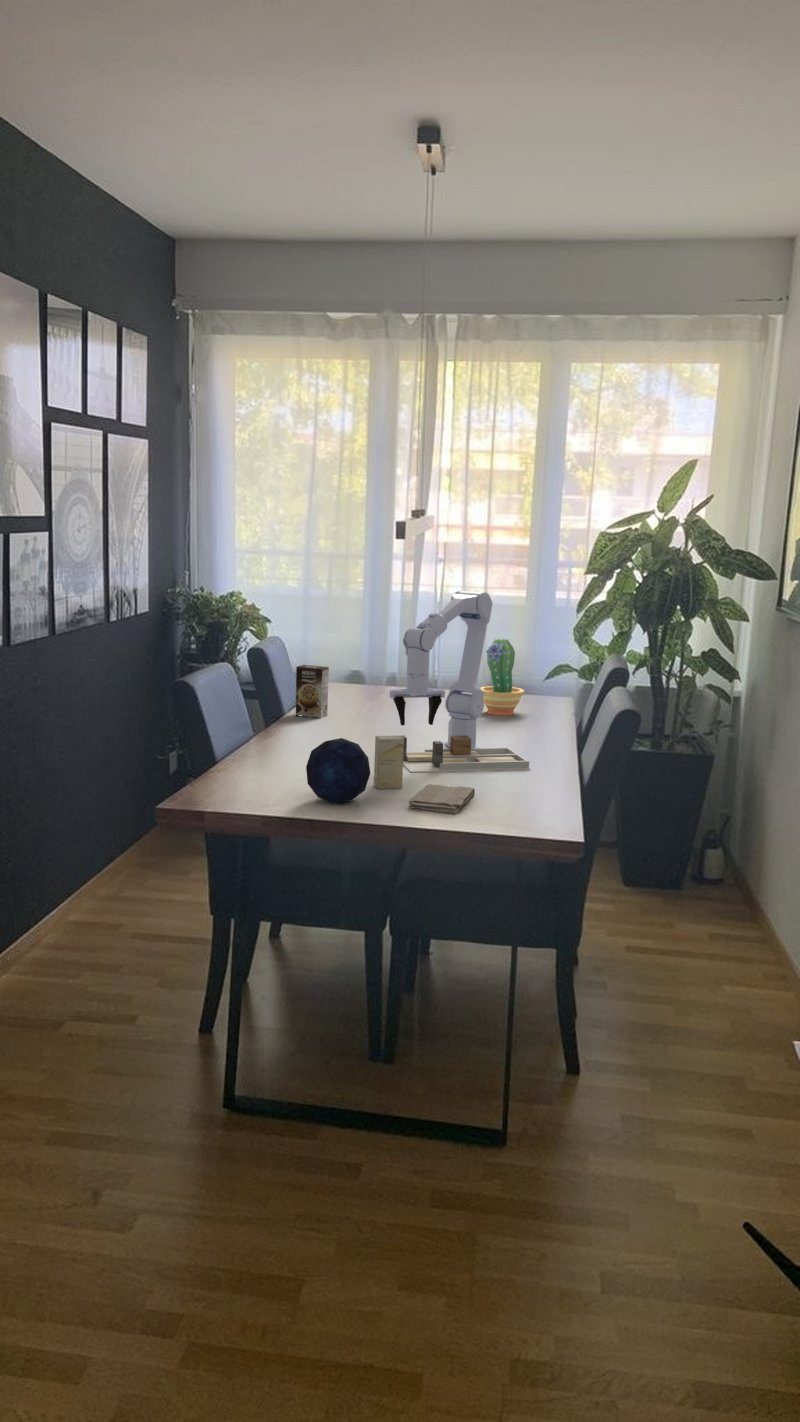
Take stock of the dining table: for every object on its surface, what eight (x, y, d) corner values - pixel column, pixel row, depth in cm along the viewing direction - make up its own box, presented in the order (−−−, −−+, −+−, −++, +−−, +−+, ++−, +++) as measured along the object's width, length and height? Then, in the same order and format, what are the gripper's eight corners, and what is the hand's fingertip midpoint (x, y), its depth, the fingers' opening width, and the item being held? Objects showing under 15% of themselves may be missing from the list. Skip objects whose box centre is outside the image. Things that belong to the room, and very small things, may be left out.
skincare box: (377, 789, 246) (378, 739, 243) (373, 784, 250) (374, 735, 248) (403, 788, 247) (404, 738, 245) (398, 783, 251) (399, 734, 249)
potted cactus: (469, 710, 353) (472, 637, 348) (508, 707, 359) (511, 636, 355) (492, 718, 339) (495, 642, 335) (532, 715, 346) (535, 641, 341)
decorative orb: (393, 780, 233) (365, 722, 237) (346, 792, 222) (318, 731, 226) (356, 807, 242) (330, 751, 246) (310, 820, 231) (282, 761, 234)
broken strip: (430, 762, 272) (431, 740, 271) (511, 760, 277) (512, 738, 276) (436, 767, 266) (437, 744, 265) (518, 765, 271) (519, 743, 270)
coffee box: (294, 716, 334) (295, 666, 331) (302, 713, 340) (302, 664, 337) (321, 718, 331) (321, 668, 328) (328, 715, 337) (329, 666, 334)
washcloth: (406, 812, 229) (406, 798, 228) (426, 792, 246) (426, 779, 245) (459, 817, 226) (459, 803, 225) (475, 797, 243) (475, 784, 242)
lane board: (395, 756, 280) (395, 749, 280) (508, 754, 287) (508, 746, 287) (410, 772, 263) (410, 765, 262) (530, 769, 270) (530, 761, 269)
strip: (395, 756, 278) (395, 734, 277) (474, 754, 283) (475, 732, 282) (400, 761, 272) (400, 739, 271) (481, 759, 277) (482, 737, 276)
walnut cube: (449, 752, 280) (450, 735, 279) (465, 751, 281) (466, 735, 280) (454, 755, 276) (454, 739, 275) (470, 755, 277) (471, 738, 276)
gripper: (393, 676, 267) (392, 728, 269) (448, 675, 270) (446, 726, 272) (388, 672, 273) (387, 722, 276) (441, 671, 276) (440, 721, 279)
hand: (416, 724), depth 275 cm, fingers open, 7 cm apart
